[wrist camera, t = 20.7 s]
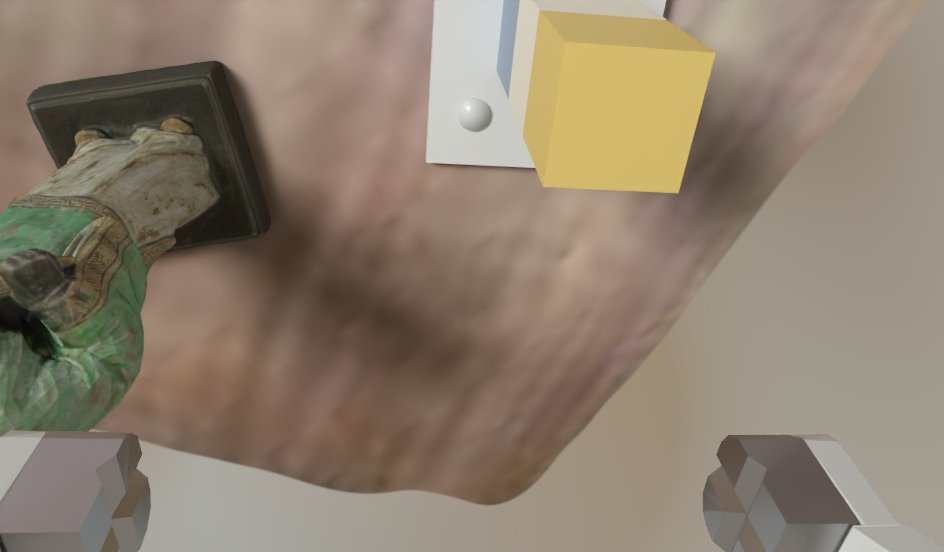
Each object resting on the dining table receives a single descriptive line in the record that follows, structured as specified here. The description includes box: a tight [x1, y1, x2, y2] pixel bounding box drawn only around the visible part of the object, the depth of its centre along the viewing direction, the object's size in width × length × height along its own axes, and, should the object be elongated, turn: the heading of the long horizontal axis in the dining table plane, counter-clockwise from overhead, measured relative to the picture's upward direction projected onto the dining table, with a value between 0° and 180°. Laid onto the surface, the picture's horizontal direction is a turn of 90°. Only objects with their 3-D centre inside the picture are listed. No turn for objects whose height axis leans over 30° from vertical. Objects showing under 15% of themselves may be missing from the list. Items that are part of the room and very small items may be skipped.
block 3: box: [523, 10, 716, 193], centre depth 26 cm, size 5×5×5 cm
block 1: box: [496, 0, 520, 98], centre depth 34 cm, size 5×5×5 cm
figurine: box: [0, 61, 271, 437], centre depth 26 cm, size 10×10×30 cm
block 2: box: [508, 0, 667, 134], centre depth 30 cm, size 5×5×5 cm
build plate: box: [426, 0, 666, 168], centre depth 36 cm, size 16×12×1 cm
